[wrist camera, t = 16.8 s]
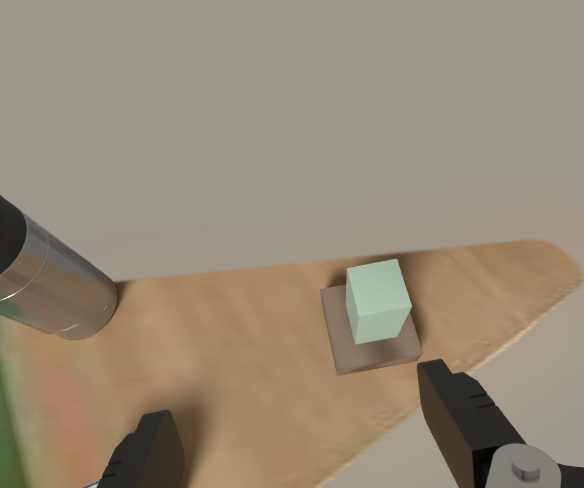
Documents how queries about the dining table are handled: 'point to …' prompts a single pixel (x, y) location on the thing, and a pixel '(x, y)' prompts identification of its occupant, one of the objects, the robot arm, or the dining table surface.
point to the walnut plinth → (368, 353)
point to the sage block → (376, 301)
